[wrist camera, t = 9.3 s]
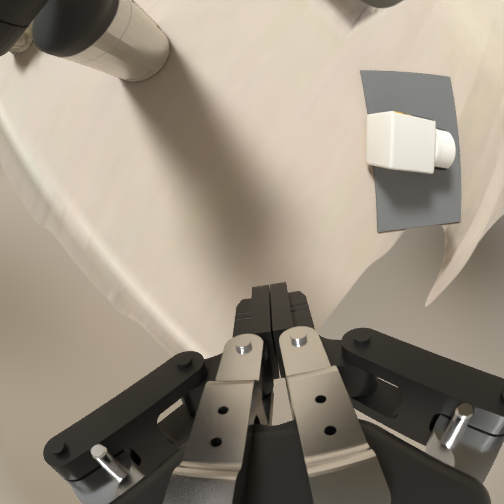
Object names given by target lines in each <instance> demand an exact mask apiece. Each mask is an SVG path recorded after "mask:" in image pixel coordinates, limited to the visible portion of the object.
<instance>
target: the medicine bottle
mask: <svg viewBox="0 0 504 504" xmlns="http://www.w3.org/2000/svg"><path fill="white" fill-rule="evenodd" d="M455 154H456V147H455V142H454V139H453V137H452V135H451V134H450V133H449V132H448V131H446V130H444V129H439V128H436V122H435V120H432V119H428V118H424V117H419V116H415V115H410V114H405V113H401V112H395V111H388V112H381V113H374V114H368V115H367V137H366V164H368V165H372V166H377V167H382V168H387V169H392V170H402V171H411V172H419V173H427V174H433V173H434V169H436V170H446V169H448V168H449V167H450V166H451V165H452V163H453V161H454V159H455Z"/></svg>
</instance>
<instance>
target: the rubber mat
mask: <svg viewBox="0 0 504 504" xmlns="http://www.w3.org/2000/svg"><path fill="white" fill-rule="evenodd" d="M360 73H361V78H362V83H363V89H364V95H365V101H366V107H367V114H374V113H381V112H388V111H395V112H401V113H405V114H410V115H415V116H419V117H424V118H428V119H432V120H435V122H436V128H439V129H444V130H446V131H448V132H449V133H450V134H451V135H452V137H453V139H454V142H455V147H456V154H455V159H454V161H453V163H452V165H451V166H450V167H449V168H448V169H446V170H436V169H434V173H433V174H427V173H419V172H411V171H402V170H392V169H387V168H382V167H377V166H374V175H375V189H376V206H377V232H383V231H391V230H399V229H407V228H414V227H422V226H429V225H438V224H445V223H453V222H460V220H461V166H460V149H459V136H458V126H457V118H456V110H455V103H454V97H453V91H452V85H451V80H450V77H447V76H440V75H431V74H422V73H410V72H396V71H367V70H361V71H360Z"/></svg>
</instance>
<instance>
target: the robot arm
mask: <svg viewBox="0 0 504 504" xmlns="http://www.w3.org/2000/svg"><path fill="white" fill-rule="evenodd" d="M32 21H33V25H32V36H33V40H34V43H35V45H36V46H37V47H38V48H39V49H40V50H41V51H43V52H45V53H47V54H50V55H54V56H57V57H61V58H64V59H67V60H70V61H73V62H76V63H79V64H82V65H85V66H88V67H91V68H94V69H97V70H99V71H102V72H105V73H108V74H110V75H113V76H115V77H118V78H121V79H123V80H126V81H130V82H138V81H143V80H146V79H148V78H150V77H152V76H153V75H155V74H156V73H157V72H158V71H159V70H160V69H161V68H162V67H163V65H164V64H165V62H166V60H167V58H168V55H169V50H170V45H169V41H168V38H167V36H166V35H165V34H164V33H163V32H162V31H161V30H160V29H159V28H158V27H157V23H156V22H155V21H154V20H153V19H152V18H151V17H150V16H149V15H148V14H147V13H146V12H145V11H144V10H143V9H142V8H141V7H140V6H139V5H138V4H137V3H136V2H135V1H133V0H0V56H2V55H4V54H6V53H7V52H8V51H9V50H10V49H11V48H12V47H13V46H14V45H15V43H16V42H17V41H18V40H19V38H20V37H21V36H22V34H23V33H24V32H25V30H26V29H27V28H28V26H29V24H31V22H32ZM278 363H279V366H278ZM279 369H280V375H281V378H284V377H285V380H286V386H287V393H288V397H289V402H290V408H291V412H292V418H293V420H292V421H289V422H287V423H283V424H280V425H276V426H272V414H273V398H274V393H273V386H274V383H273V379H277V378H279ZM378 377H379V378H381V379H384V380H385V381H388V382H390V383H392V384H394V385H396V386H398V388H397V387H395V386H393V385H391V384H389V383H387V382H384V381H382V380H380V379H378ZM180 398H181V400H182V402H183V404H182V405H181V406H180V407H178V408H177V409H176V410H175V411H173V412H172V413H171V414H169V415H168V416H167V417H166V418H165V419H163V420H162V421H161V422H159V423H158V424H157V419H158V417H159V415H160V414H161V413H162V412H163V411H165V410H166V409H167V408H169V407H170V406H171V405H173V404H174V403H175V402H176V401H178V400H179V399H180ZM354 408H355V409H356V410H358V411H360V412H362V413H363V414H365V415H367V416H369V417H371V418H372V419H374V420H376V421H378V422H380V423H382V424H384V425H385V426H387V427H389V428H391V429H393V430H395V431H397V432H399V433H401V434H403V435H405V436H406V437H409V438H410V439H412V440H414V441H416V442H418V443H421V444H422V445H425V446H426V452H427V453H425V452H423V451H421V450H420V449H418V448H416V447H414V446H412V445H410V444H409V443H407V442H405V441H403V440H401V439H400V438H398V437H396V436H395V435H393V434H391V433H389V432H388V431H386V430H384V429H383V428H381V427H379V426H377V425H375V424H373V423H370V422H368V421H365V420H360V419H358V418H357V415H356V413H355V410H354ZM503 442H504V379H503V378H500V377H498V376H495V375H492V374H489V373H486V372H483V371H481V370H478V369H475V368H472V367H470V366H467V365H464V364H462V363H459V362H456V361H453V360H451V359H448V358H445V357H442V356H440V355H437V354H435V353H432V352H429V351H427V350H424V349H422V348H419V347H416V346H414V345H411V344H409V343H406V342H403V341H401V340H398V339H395V338H393V337H390V336H388V335H385V334H382V333H380V332H378V331H375V330H373V329H369V328H357V329H353V330H351V331H349V332H347V333H346V334H345V335H344V336H343V338H342V340H330V339H326V338H323V337H321V336H320V335H318V333H317V331H316V330H315V329H314V325H313V321H312V317H311V314H310V310H309V306H308V303H307V299H306V296H305V295H304V294H302V293H301V292H300V291H297V292H290V293H288V291H287V285H286V282H284V283H277V284H271V285H270V289H269V285H265V286H258V287H252V298H251V299H244V300H242V301H241V302H240V303H239V304H238V305H237V308H236V315H235V323H234V331H233V338H232V339H230V340H229V341H228V342H227V343H226V345H225V347H224V351H223V353H221V354H219V355H217V356H214V357H211V358H208V359H204V358H203V356H202V355H201V354H200V353H198V352H194V351H187V352H182V353H179V354H177V355H175V356H174V357H172V358H171V359H169V360H168V361H166V362H165V363H164V364H162V365H161V366H160V367H158V368H157V369H155V370H154V371H152V372H151V373H149V374H148V375H147V376H145V377H144V378H142V379H141V380H139V381H138V382H136V383H135V384H133V385H132V386H130V387H129V388H128V389H126V390H125V391H123V392H122V393H120V394H119V395H117V396H116V397H114V398H113V399H111V400H110V401H108V402H107V403H105V404H104V405H102V406H101V407H99V408H98V409H96V410H95V411H93V412H92V413H90V414H89V415H87V416H86V417H85V418H83V419H81V420H79V421H78V422H76V423H75V424H73V425H72V426H70V427H69V428H67V429H65V430H64V431H62V432H61V433H59V434H58V435H56V436H54V437H53V438H51V439H50V440H49V441H48V442H47V444H46V445H45V448H44V452H43V454H44V459H45V461H46V462H47V463H48V464H49V465H50V466H51V467H52V468H53V469H54V470H55V471H56V472H58V473H59V474H60V476H61V477H62V478H63V479H64V480H66V482H68V483H69V484H70V485H71V487H72V488H73V490H74V492H75V494H76V495H77V497H78V498H79V500H80V501H81V503H82V504H491V500H490V496H489V493H488V491H487V489H486V488H485V487H484V485H483V482H484V481H485V479H486V477H487V475H488V473H489V471H490V469H491V467H492V465H493V463H494V461H495V459H496V457H497V455H498V452H499V450H500V448H501V446H502V443H503Z"/></svg>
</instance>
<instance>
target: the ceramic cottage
mask: <svg viewBox="0 0 504 504" xmlns="http://www.w3.org/2000/svg"><path fill="white" fill-rule="evenodd" d="M32 25H33V21H32V22H31V24H29V26H28V28H27V29H26V30H25V32H24V33H23V34H22V36H21V37H20V38H19V40H18V41H17V42H16V43H15V45H14V46H13V47H12V48H11V49H10V50H9V51H10V52H12V53H15V52H16V53H22V52H24V51H26V50H27V49H28V48H29V46H30V44H31V43H32V41H33V36H32Z"/></svg>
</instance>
